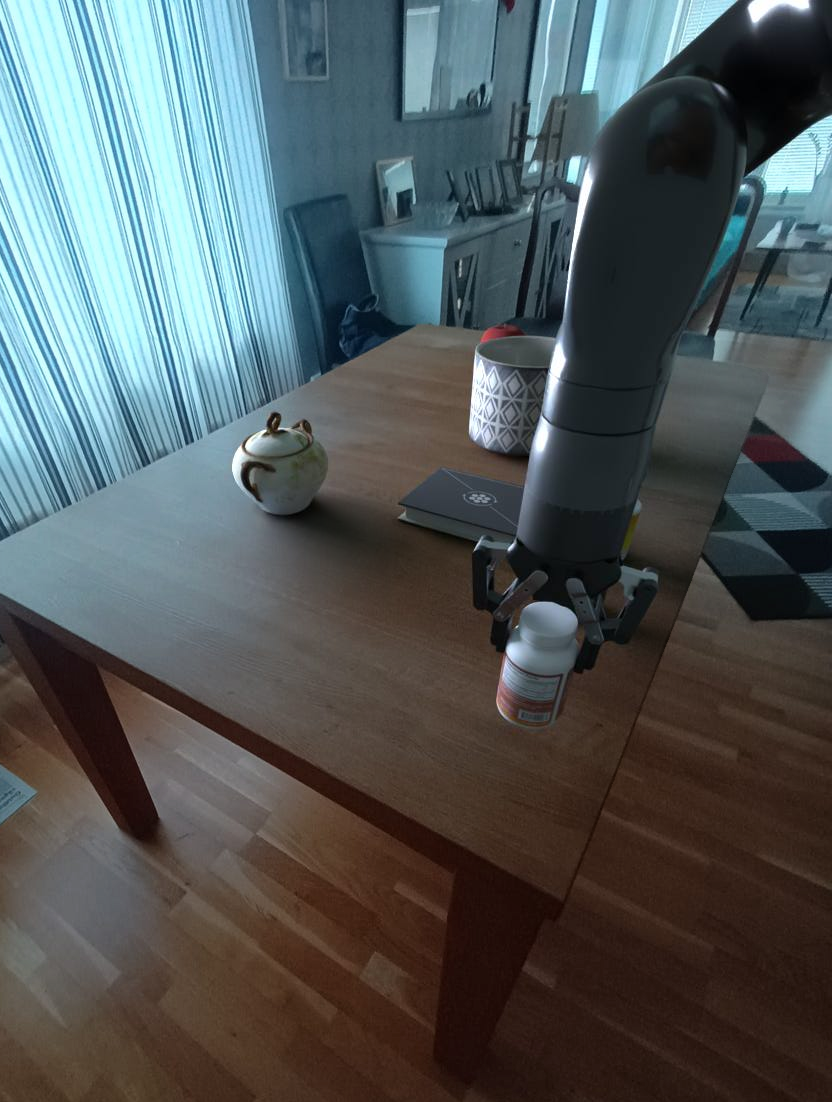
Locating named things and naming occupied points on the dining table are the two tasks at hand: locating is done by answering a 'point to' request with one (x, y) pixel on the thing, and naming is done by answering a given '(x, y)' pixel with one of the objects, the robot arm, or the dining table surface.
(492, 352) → the planter
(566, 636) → the pill bottle
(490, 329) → the apple
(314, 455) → the sugar bowl
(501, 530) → the book
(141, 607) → the dining table surface
